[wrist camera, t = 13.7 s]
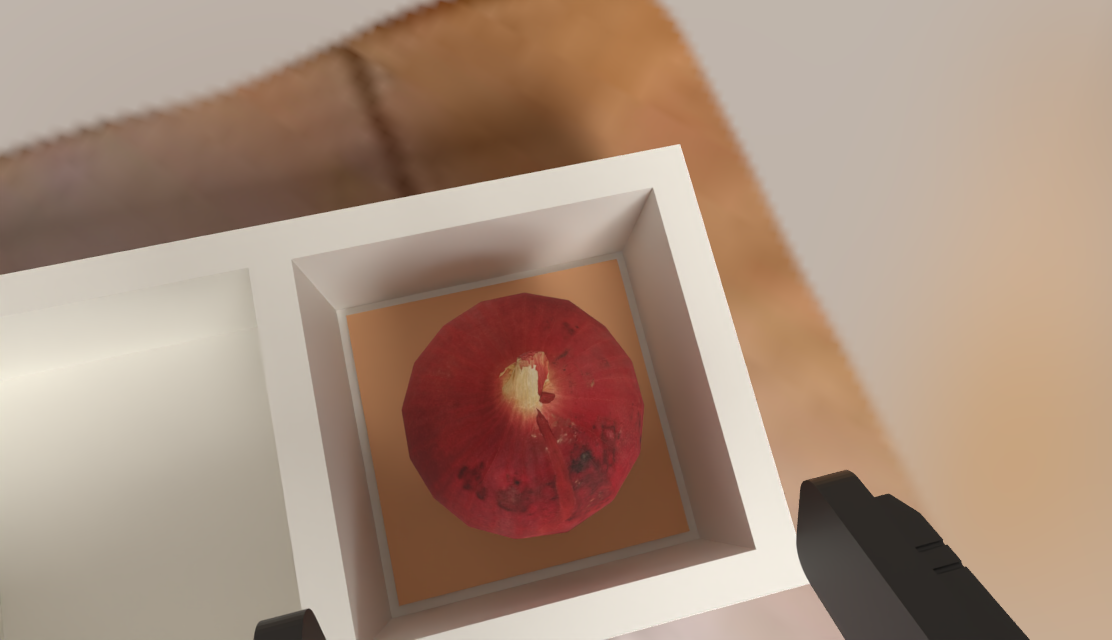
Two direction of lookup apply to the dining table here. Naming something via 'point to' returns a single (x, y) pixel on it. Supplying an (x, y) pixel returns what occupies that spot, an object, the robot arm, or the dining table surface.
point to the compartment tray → (370, 425)
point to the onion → (523, 416)
